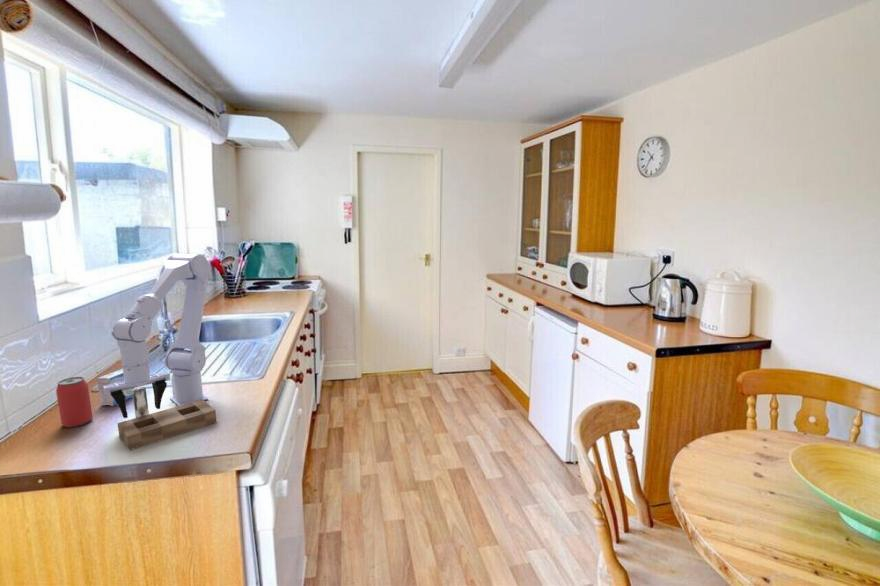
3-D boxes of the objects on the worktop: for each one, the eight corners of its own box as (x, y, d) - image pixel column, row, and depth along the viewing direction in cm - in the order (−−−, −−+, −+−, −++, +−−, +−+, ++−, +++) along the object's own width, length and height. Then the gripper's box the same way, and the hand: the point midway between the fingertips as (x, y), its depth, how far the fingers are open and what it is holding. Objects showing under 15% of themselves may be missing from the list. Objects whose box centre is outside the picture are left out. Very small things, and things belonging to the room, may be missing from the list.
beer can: (86, 415, 126) (80, 374, 123) (97, 420, 122) (91, 378, 120) (57, 424, 120) (50, 382, 118) (68, 430, 117) (61, 387, 115)
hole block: (119, 436, 114) (117, 423, 113) (203, 410, 128) (201, 399, 127) (129, 450, 107) (127, 436, 106) (216, 422, 121) (215, 410, 121)
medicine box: (113, 406, 131) (109, 378, 129) (100, 405, 132) (96, 377, 130) (136, 396, 138) (132, 369, 137) (124, 394, 139) (120, 368, 138)
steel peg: (135, 424, 120) (130, 389, 118) (148, 420, 122) (143, 385, 120) (138, 427, 118) (133, 392, 116) (151, 424, 120) (146, 388, 118)
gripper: (104, 374, 109) (112, 426, 112) (171, 360, 119) (176, 408, 122) (98, 367, 114) (106, 417, 116) (163, 354, 124) (168, 400, 127)
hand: (141, 412), depth 120 cm, fingers open, 7 cm apart
